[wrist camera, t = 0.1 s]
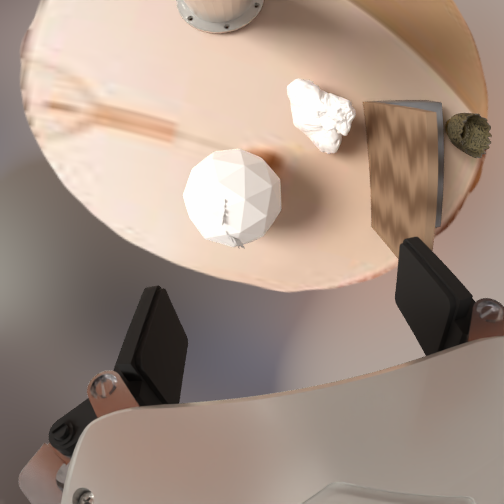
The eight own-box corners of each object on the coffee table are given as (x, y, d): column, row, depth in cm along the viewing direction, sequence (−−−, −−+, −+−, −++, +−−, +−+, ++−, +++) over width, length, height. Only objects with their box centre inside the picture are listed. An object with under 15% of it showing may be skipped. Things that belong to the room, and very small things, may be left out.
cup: (430, 138, 43) (457, 148, 36) (441, 101, 39) (469, 106, 32) (458, 152, 44) (484, 164, 37) (468, 118, 40) (496, 126, 33)
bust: (327, 143, 46) (385, 135, 37) (300, 166, 43) (362, 159, 34) (292, 79, 40) (349, 56, 31) (260, 96, 38) (319, 70, 29)
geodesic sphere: (302, 240, 45) (298, 223, 32) (219, 270, 48) (184, 265, 34) (270, 158, 48) (255, 115, 34) (194, 189, 50) (156, 159, 36)
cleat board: (362, 101, 40) (425, 112, 25) (426, 100, 39) (499, 115, 24) (371, 226, 51) (418, 285, 35) (428, 216, 50) (483, 266, 35)
